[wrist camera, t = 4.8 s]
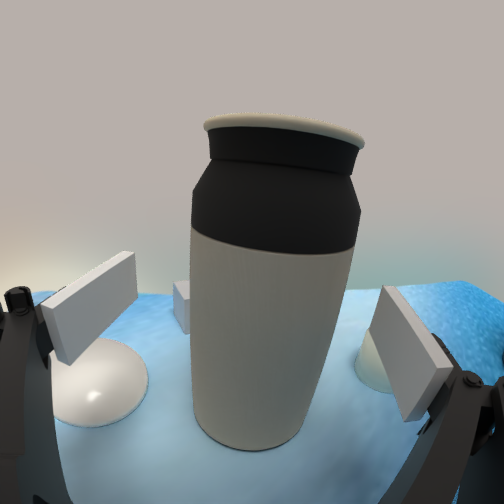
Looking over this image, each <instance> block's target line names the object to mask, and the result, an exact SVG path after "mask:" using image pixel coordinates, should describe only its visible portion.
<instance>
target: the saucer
mask: <svg viewBox="0 0 504 504" xmlns="http://www.w3.org/2000/svg"><path fill="white" fill-rule="evenodd" d="M49 354H50V357H51V374H52V400H53V413H54V417H55V418H56V419H58V420H60V421H62V422H64V423H66V424H69V425H73V426H77V427H86V428H89V427H100V426H106V425H109V424H112V423H115V422H117V421H119V420H121V419H123V418H125V417H126V416H128V415H129V414H130V413H132V412H133V411H134V410H135V409H136V408H137V407H138V406H139V404H140V403H141V402H142V400H143V398H144V396H145V394H146V391H147V388H148V374H147V369H146V366H145V363H144V361H143V360H142V358H141V356H140V355H139V354H138V353H137V352H136V351H135V350H133V349H132V348H130V347H129V346H127V345H125V344H123V343H121V342H118V341H115V340H111V339H106V338H97V339H96V340H95V341H94V342H93V343H92V344H91V345H90V346H89V347H88V348H87V349H86V350H85V351H84V352H83V353H82V354H81V355H80V357H79V358H78V359H77V360H76V361H75V362H74V363H73V364H72V365H71V366H68V365H66V364H64V363H62V362H60V361H58V360H57V357H56V354H55V351H54V350H53V351H52V352H51V353H49Z"/></svg>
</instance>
